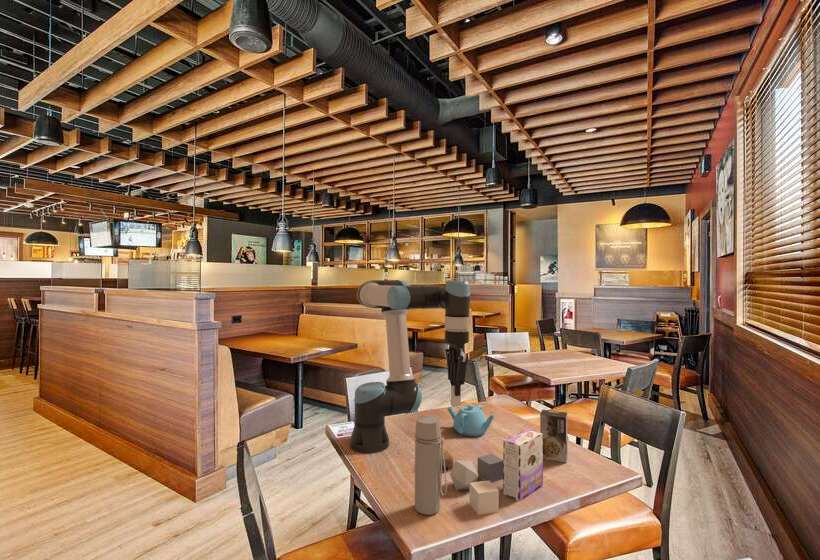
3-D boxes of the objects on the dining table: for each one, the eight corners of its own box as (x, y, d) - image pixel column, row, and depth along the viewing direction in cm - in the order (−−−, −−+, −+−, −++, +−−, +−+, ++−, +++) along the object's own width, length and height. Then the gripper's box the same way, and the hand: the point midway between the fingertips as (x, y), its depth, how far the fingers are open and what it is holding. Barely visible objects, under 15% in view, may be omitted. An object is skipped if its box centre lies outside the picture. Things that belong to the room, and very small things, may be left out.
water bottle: (410, 514, 112) (410, 422, 112) (419, 499, 119) (420, 413, 119) (442, 521, 109) (443, 426, 109) (450, 506, 116) (450, 417, 116)
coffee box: (567, 456, 150) (568, 412, 150) (566, 463, 144) (566, 417, 144) (541, 451, 153) (542, 408, 153) (539, 458, 148) (539, 413, 148)
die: (470, 500, 121) (486, 469, 124) (445, 482, 122) (461, 453, 125) (466, 496, 128) (481, 467, 131) (442, 480, 130) (457, 452, 133)
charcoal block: (477, 475, 134) (477, 457, 134) (491, 471, 137) (491, 453, 137) (489, 483, 129) (489, 464, 129) (504, 479, 132) (504, 460, 132)
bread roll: (429, 484, 136) (435, 466, 133) (416, 460, 144) (421, 442, 141) (454, 478, 140) (460, 460, 137) (440, 454, 149) (445, 437, 146)
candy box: (526, 479, 132) (527, 428, 132) (543, 486, 128) (543, 433, 128) (502, 494, 123) (502, 439, 123) (519, 502, 118) (519, 445, 118)
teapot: (478, 422, 185) (478, 397, 185) (495, 437, 168) (495, 409, 168) (446, 425, 181) (446, 399, 181) (460, 440, 164) (460, 412, 164)
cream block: (469, 503, 117) (469, 482, 117) (488, 501, 119) (488, 480, 119) (478, 515, 112) (478, 493, 112) (498, 512, 113) (498, 490, 113)
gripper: (476, 332, 123) (475, 410, 123) (459, 326, 135) (458, 398, 136) (453, 333, 121) (452, 412, 121) (438, 327, 133) (437, 399, 134)
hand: (455, 405), depth 128 cm, fingers closed
